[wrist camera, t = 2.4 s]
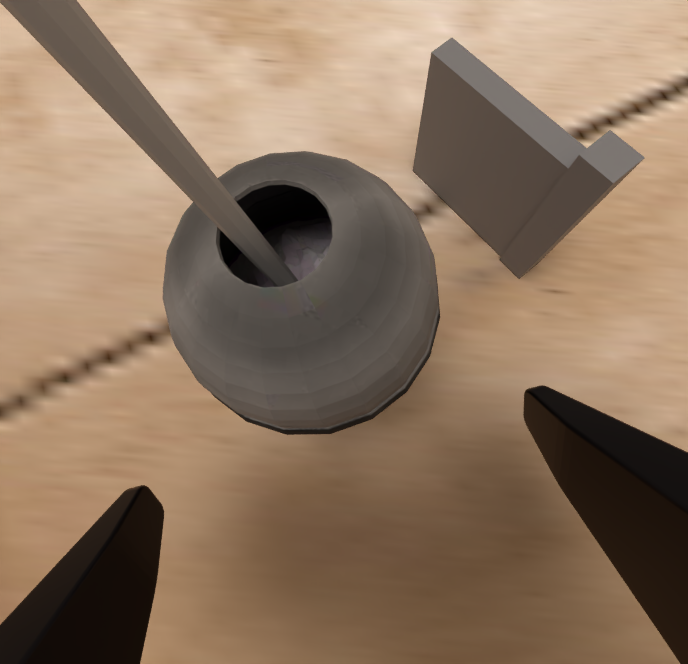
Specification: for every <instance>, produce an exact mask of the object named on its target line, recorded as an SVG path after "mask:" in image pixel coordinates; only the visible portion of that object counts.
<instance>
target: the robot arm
mask: <svg viewBox="0 0 688 664" xmlns="http://www.w3.org/2000/svg"><path fill="white" fill-rule="evenodd" d="M524 420H525V423H526V425H527V427H528V429H529V431H530V433H531V435H532V436H533V438H534V440H535V442H536V444H537V446H538V448H539V449H540V451H541V453H542V455H543V457H544V459H545V461H546V462H547V464H548V466H549V468H550V470H551V472H552V474H553V475H554V477H555V479H556V481H557V482H558V484H559V486H560V487H561V489H562V490H563V492H564V493H565V495H566V496H567V498H568V499H569V501H570V502H571V504H572V505H573V507H574V508H575V510H576V511H577V513H578V514H579V515H580V517H581V518H582V520H583V521H584V523H585V524H586V526H587V527H588V529H589V530H590V532H591V533H592V535H593V536H594V537H595V539H596V540H597V542H598V543H599V545H600V546H601V548H602V549H603V551H604V552H605V554H606V555H607V556H608V558H609V559H610V561H611V562H612V564H613V565H614V567H615V568H616V570H617V571H618V573H619V574H620V576H621V577H622V578H623V580H624V581H625V583H626V584H627V586H628V587H629V589H630V590H631V592H632V593H633V595H634V596H635V598H636V599H637V600H638V602H639V603H640V605H641V606H642V608H643V609H644V611H645V612H646V614H647V615H648V617H649V618H650V619H651V621H652V622H653V624H654V625H655V627H656V628H657V630H658V631H659V633H660V634H661V636H662V637H663V639H664V640H665V641H666V643H667V644H668V646H669V647H670V649H671V650H672V652H673V653H674V655H675V656H676V658H677V659H678V660H679V662H680V663H681V664H688V452H686V451H684V450H682V449H679V448H677V447H675V446H673V445H671V444H669V443H667V442H664V441H662V440H660V439H658V438H656V437H654V436H652V435H649V434H647V433H645V432H643V431H641V430H639V429H637V428H635V427H632V426H630V425H628V424H626V423H624V422H622V421H620V420H617V419H615V418H613V417H611V416H609V415H607V414H605V413H602V412H600V411H598V410H596V409H594V408H592V407H590V406H587V405H585V404H583V403H581V402H579V401H577V400H575V399H573V398H570V397H568V396H566V395H564V394H562V393H560V392H558V391H555V390H553V389H551V388H549V387H547V386H537V387H533V388H529V389H527V390H526V391H525V394H524ZM163 521H164V509H163V506H162V504H161V503H160V502H159V500H158V499H157V498H156V496H155V495H154V494H153V493H152V491H151V490H150V489H149V488H148V487H147V486H145V485H141V486H137V487H134V488H130V489H127V490H126V491H124V492H123V493H122V494H121V496H120V497H119V498H118V499H117V500H116V501H115V502H114V503H113V504H112V505H111V506H110V507H109V508H108V510H107V511H106V512H105V513H104V514H103V515H102V516H101V517H100V518H99V519H98V520H97V521H96V522H95V524H94V525H93V526H92V527H91V528H90V529H89V530H88V531H87V532H86V533H85V534H84V535H83V536H82V538H81V539H80V540H79V541H78V542H77V543H76V544H75V545H74V546H73V547H72V548H71V549H70V550H69V552H68V553H67V554H66V555H65V556H64V557H63V558H62V559H61V560H60V561H59V562H58V563H57V564H56V566H55V567H54V568H53V569H52V570H51V571H50V572H49V573H48V574H47V575H46V576H45V577H44V578H43V579H42V581H41V582H40V583H39V584H38V585H37V586H36V587H35V588H34V589H33V590H32V591H31V592H30V593H29V595H28V596H27V597H26V598H25V599H24V600H23V601H22V602H21V603H20V604H19V605H18V606H17V607H16V608H15V610H14V611H13V612H12V613H11V614H10V615H9V616H8V617H7V618H6V619H5V620H4V621H3V622H2V624H1V625H0V664H140V661H141V656H142V651H143V647H144V642H145V637H146V632H147V627H148V623H149V618H150V613H151V608H152V604H153V599H154V594H155V588H156V583H157V576H158V567H159V558H160V549H161V540H162V530H163Z"/></svg>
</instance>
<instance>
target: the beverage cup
mask: <svg viewBox="0 0 688 664" xmlns="http://www.w3.org/2000/svg"><path fill="white" fill-rule="evenodd" d="M0 3H1V4H2V5H3V6H4V7H5V8H6V9H7V10H8V11H9V12H10V13H11V14H12V15H13V16H14V17H15V18H16V19H17V20H18V21H19V22H20V23H21V24H22V26H23V27H24V28H25V29H26V30H27V31H28V32H29V33H30V34H31V35H32V36H33V37H34V38H35V39H36V40H37V41H38V42H39V43H40V44H41V45H42V46H43V47H44V48H45V49H46V50H47V51H48V52H49V53H50V54H51V55H52V56H53V58H54V59H55V60H56V61H57V62H58V63H59V64H60V65H61V66H62V67H63V68H64V69H65V70H66V71H67V72H68V73H69V74H70V75H71V76H72V77H73V78H74V79H75V80H76V81H77V82H78V83H79V84H80V85H81V86H82V87H83V88H84V90H85V91H86V92H87V93H88V94H89V95H90V96H91V97H92V98H93V99H94V100H95V101H96V102H97V103H98V104H99V105H100V106H101V107H102V108H103V109H104V110H105V111H106V112H107V113H108V114H109V115H110V116H111V117H112V118H113V119H114V121H115V122H116V123H117V124H118V125H119V126H120V127H121V128H122V129H123V130H124V131H125V132H126V133H127V134H128V135H129V136H130V137H131V138H132V139H133V140H134V141H135V142H136V143H137V144H138V145H139V146H140V147H141V148H142V149H143V150H144V151H145V153H146V154H147V155H148V156H149V157H150V158H151V159H152V160H153V161H154V162H155V163H156V164H157V165H158V166H159V167H160V168H161V169H162V170H163V171H164V172H165V173H166V174H167V175H168V176H169V177H170V178H171V179H172V180H173V181H174V182H175V183H176V185H177V186H178V187H179V188H180V189H181V190H182V191H183V192H184V193H185V194H186V195H187V196H188V197H189V198H190V199H191V200H192V201H193V203H192V204H191V205H190V207H189V208H188V209H187V210H186V211H185V213H184V214H183V216H182V218H181V220H180V222H179V225H178V227H177V229H176V232H175V234H174V236H173V238H172V241H171V243H170V245H169V248H168V250H167V255H166V265H165V274H164V284H163V302H164V306H165V310H166V315H167V319H168V323H169V328H170V332H171V336H172V339H173V341H174V344H175V346H176V348H177V350H178V351H179V353H180V354H181V356H182V357H183V359H184V360H185V362H186V364H187V365H188V367H189V368H190V370H191V371H192V373H193V374H194V376H195V378H196V379H197V381H198V382H199V383H200V384H201V385H202V386H203V387H204V388H206V389H207V390H208V391H210V392H211V394H212V395H213V396H214V397H215V398H217V399H218V400H219V401H220V402H222V403H223V404H224V405H226V406H227V407H228V408H230V409H231V410H232V411H234V412H235V413H236V414H237V415H239V416H240V417H241V418H243V419H244V420H245V421H247V422H250V423H253V424H256V425H259V426H262V427H265V428H268V429H271V430H274V431H277V432H280V433H283V434H287V435H294V434H332V433H334V432H337V431H340V430H343V429H346V428H348V427H351V426H354V425H357V424H360V423H362V422H365V421H368V420H371V419H373V418H374V417H375V416H377V415H378V414H379V413H380V412H382V411H383V410H384V409H386V408H387V407H388V406H389V405H391V404H392V403H393V402H394V401H396V400H397V399H398V398H400V397H401V396H402V395H403V394H405V393H406V392H407V391H408V389H409V388H410V386H411V385H412V383H413V381H414V380H415V378H416V377H417V375H418V374H419V372H420V371H421V369H422V368H423V366H424V365H425V363H426V362H427V360H428V359H429V357H430V354H431V350H432V346H433V343H434V339H435V335H436V331H437V327H438V323H439V319H440V310H439V298H438V286H437V276H436V267H435V259H434V255H433V252H432V250H431V248H430V246H429V243H428V241H427V239H426V237H425V235H424V232H423V230H422V228H421V226H420V223H419V221H418V219H417V217H416V216H415V214H414V212H413V211H412V210H411V209H410V208H409V207H408V206H407V204H406V203H405V202H404V201H403V200H402V199H401V198H400V197H399V196H398V195H397V194H396V193H395V192H394V191H393V189H392V188H391V187H390V186H389V185H388V184H387V183H386V182H384V181H383V180H382V179H380V178H379V177H377V176H375V175H373V174H372V173H370V172H368V171H366V170H364V169H363V168H361V167H359V166H357V165H355V164H354V163H352V162H350V161H348V160H346V159H341V158H336V157H332V156H327V155H322V154H318V153H313V152H306V151H302V152H287V153H272V154H268V155H265V156H262V157H259V158H256V159H253V160H250V161H247V162H244V163H242V164H239V165H236V166H235V167H233V168H232V169H230V170H229V171H227V172H226V173H225V174H223V175H222V176H220V177H219V178H217V177H216V176H215V175H214V173H213V172H212V171H211V170H210V168H209V167H208V166H207V164H206V163H205V162H204V161H203V159H202V158H201V157H200V156H199V154H198V153H197V152H196V151H195V149H194V148H193V147H192V146H191V144H190V143H189V142H188V140H187V139H186V138H185V137H184V135H183V134H182V133H181V132H180V130H179V129H178V128H177V127H176V125H175V124H174V123H173V122H172V120H171V119H170V118H169V117H168V115H167V114H166V113H165V111H164V110H163V109H162V108H161V106H160V105H159V104H158V103H157V101H156V100H155V99H154V98H153V96H152V95H151V94H150V93H149V91H148V90H147V89H146V87H145V86H144V85H143V84H142V82H141V81H140V80H139V79H138V77H137V76H136V75H135V74H134V72H133V71H132V70H131V69H130V67H129V66H128V65H127V64H126V62H125V61H124V60H123V58H122V57H121V56H120V55H119V53H118V52H117V51H116V50H115V48H114V47H113V46H112V45H111V43H110V42H109V41H108V40H107V38H106V37H105V36H104V34H103V33H102V32H101V31H100V29H99V28H98V27H97V26H96V24H95V23H94V22H93V21H92V19H91V18H90V17H89V16H88V14H87V13H86V12H85V10H84V9H83V8H82V7H81V5H80V4H79V3H78V2H77V0H0Z"/></svg>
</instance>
